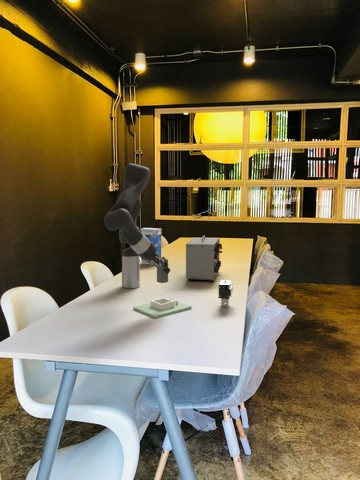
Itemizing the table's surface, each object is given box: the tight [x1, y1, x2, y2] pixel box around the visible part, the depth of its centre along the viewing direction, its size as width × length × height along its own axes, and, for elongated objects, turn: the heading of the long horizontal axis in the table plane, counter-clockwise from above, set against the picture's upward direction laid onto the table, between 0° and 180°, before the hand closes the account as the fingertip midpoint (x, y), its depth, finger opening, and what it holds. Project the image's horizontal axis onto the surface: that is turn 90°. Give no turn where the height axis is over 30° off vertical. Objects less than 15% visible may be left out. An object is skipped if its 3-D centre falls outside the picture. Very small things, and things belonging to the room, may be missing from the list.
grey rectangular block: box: [156, 258, 169, 284], centre depth 161 cm, size 4×4×10 cm
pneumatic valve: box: [218, 279, 234, 308], centre depth 166 cm, size 6×12×12 cm, turn 166°
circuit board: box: [133, 297, 193, 319], centre depth 163 cm, size 20×16×4 cm
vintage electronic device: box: [185, 235, 223, 283], centre depth 225 cm, size 32×18×25 cm, turn 168°
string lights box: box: [140, 227, 162, 266], centre depth 266 cm, size 13×8×26 cm, turn 73°
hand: (165, 271), depth 162 cm, fingers closed on grey rectangular block, 3 cm apart
